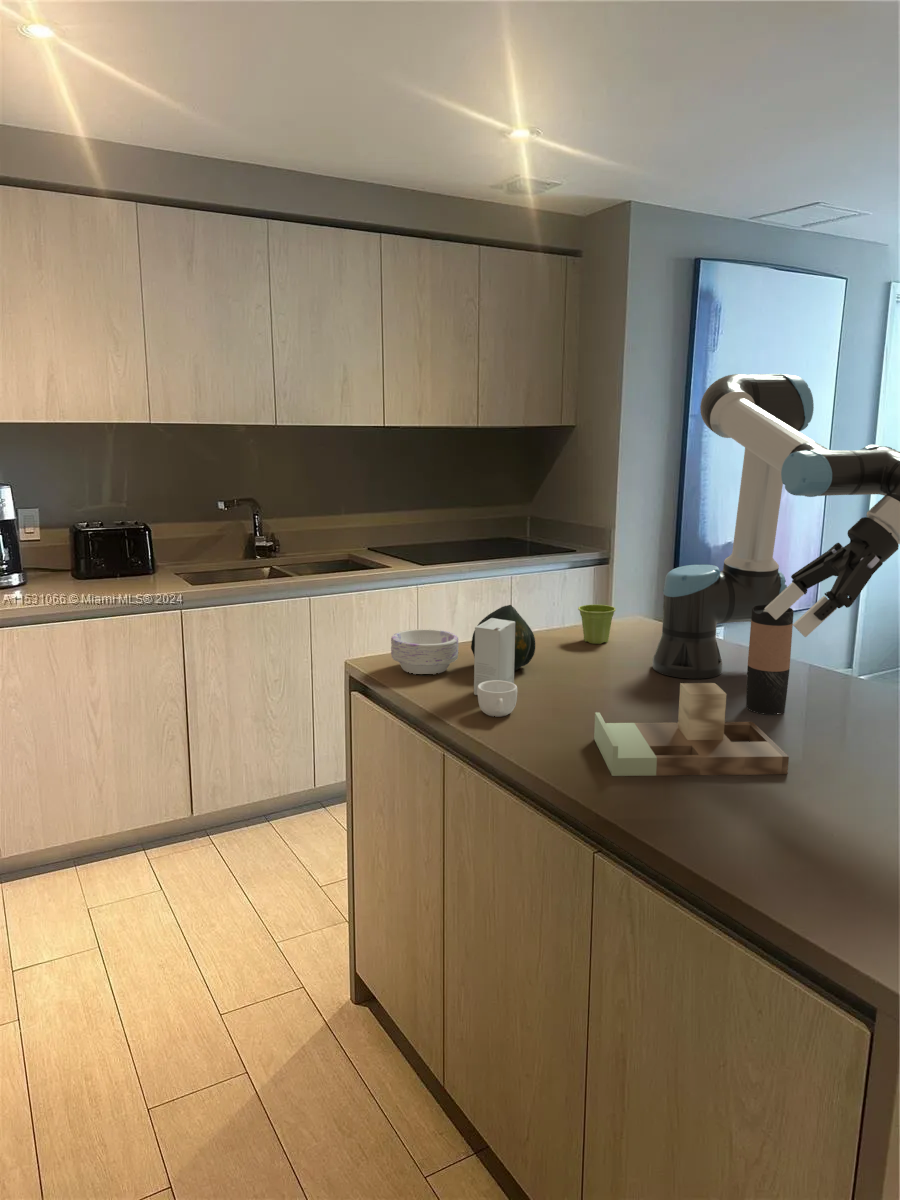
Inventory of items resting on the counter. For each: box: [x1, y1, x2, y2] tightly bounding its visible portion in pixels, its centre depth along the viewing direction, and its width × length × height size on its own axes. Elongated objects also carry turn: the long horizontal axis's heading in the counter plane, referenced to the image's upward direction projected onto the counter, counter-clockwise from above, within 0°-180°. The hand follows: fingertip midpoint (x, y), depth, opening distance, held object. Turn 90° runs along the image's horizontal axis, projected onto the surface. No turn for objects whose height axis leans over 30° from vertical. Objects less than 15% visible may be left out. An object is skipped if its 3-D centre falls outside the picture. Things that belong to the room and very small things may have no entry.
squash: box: [470, 604, 536, 672], centre depth 195 cm, size 14×15×15 cm
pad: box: [593, 711, 657, 777], centre depth 144 cm, size 7×16×5 cm, turn 1°
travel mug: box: [745, 605, 794, 715], centre depth 166 cm, size 8×8×20 cm
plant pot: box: [577, 604, 616, 645], centre depth 218 cm, size 9×9×9 cm
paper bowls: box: [390, 628, 459, 675], centre depth 194 cm, size 15×15×8 cm
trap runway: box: [634, 721, 790, 776], centre depth 144 cm, size 21×16×3 cm
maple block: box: [677, 682, 727, 740], centre depth 145 cm, size 6×6×8 cm
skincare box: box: [473, 618, 515, 696], centre depth 177 cm, size 8×6×15 cm
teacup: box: [477, 680, 518, 718], centre depth 164 cm, size 10×8×5 cm
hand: (783, 622), depth 143 cm, fingers open, 13 cm apart
